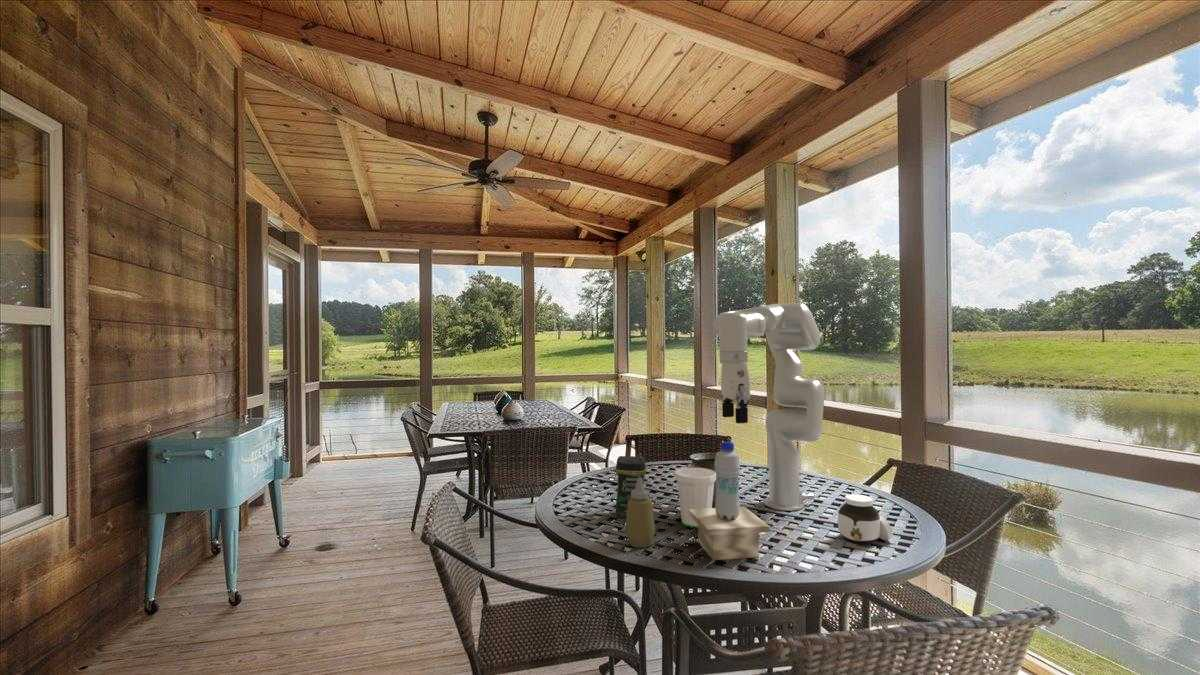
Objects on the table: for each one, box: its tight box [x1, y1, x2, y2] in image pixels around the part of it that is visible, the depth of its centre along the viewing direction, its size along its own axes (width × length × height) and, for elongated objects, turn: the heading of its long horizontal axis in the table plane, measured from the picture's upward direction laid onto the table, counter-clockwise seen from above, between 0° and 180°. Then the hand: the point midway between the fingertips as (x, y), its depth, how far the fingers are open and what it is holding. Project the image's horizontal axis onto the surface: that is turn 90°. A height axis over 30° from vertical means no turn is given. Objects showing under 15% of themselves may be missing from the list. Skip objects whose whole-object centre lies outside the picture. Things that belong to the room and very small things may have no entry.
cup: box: [674, 467, 716, 529], centre depth 164 cm, size 12×12×15 cm
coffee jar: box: [615, 455, 647, 519], centre depth 172 cm, size 10×8×19 cm
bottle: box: [713, 440, 741, 520], centre depth 144 cm, size 7×7×20 cm
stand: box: [689, 506, 770, 561], centre depth 143 cm, size 16×16×8 cm
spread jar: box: [837, 494, 894, 546], centre depth 150 cm, size 12×11×12 cm
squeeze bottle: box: [624, 478, 656, 549], centre depth 148 cm, size 8×8×18 cm
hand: (734, 419), depth 150 cm, fingers open, 9 cm apart
